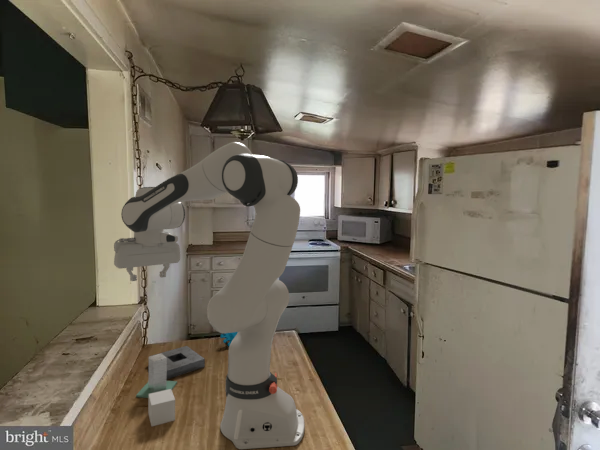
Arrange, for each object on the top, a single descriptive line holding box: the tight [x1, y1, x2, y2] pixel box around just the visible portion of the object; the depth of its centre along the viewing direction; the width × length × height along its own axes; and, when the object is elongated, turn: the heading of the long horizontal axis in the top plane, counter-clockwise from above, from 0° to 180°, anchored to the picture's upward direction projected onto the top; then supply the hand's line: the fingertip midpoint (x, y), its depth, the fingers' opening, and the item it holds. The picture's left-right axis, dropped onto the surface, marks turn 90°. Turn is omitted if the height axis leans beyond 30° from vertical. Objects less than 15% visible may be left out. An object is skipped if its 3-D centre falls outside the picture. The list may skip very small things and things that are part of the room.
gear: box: [220, 332, 238, 347], centre depth 148 cm, size 11×6×10 cm
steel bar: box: [147, 352, 168, 393], centre depth 111 cm, size 4×4×10 cm
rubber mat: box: [135, 380, 178, 399], centre depth 111 cm, size 9×9×1 cm
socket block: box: [151, 345, 206, 380], centre depth 127 cm, size 14×14×3 cm
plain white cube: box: [147, 389, 176, 427], centre depth 98 cm, size 6×6×6 cm
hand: (148, 278), depth 117 cm, fingers open, 8 cm apart
